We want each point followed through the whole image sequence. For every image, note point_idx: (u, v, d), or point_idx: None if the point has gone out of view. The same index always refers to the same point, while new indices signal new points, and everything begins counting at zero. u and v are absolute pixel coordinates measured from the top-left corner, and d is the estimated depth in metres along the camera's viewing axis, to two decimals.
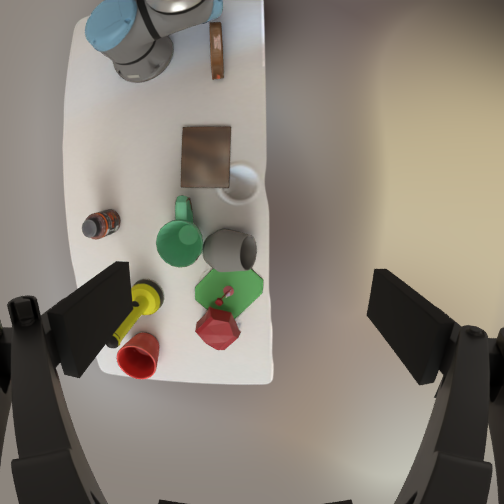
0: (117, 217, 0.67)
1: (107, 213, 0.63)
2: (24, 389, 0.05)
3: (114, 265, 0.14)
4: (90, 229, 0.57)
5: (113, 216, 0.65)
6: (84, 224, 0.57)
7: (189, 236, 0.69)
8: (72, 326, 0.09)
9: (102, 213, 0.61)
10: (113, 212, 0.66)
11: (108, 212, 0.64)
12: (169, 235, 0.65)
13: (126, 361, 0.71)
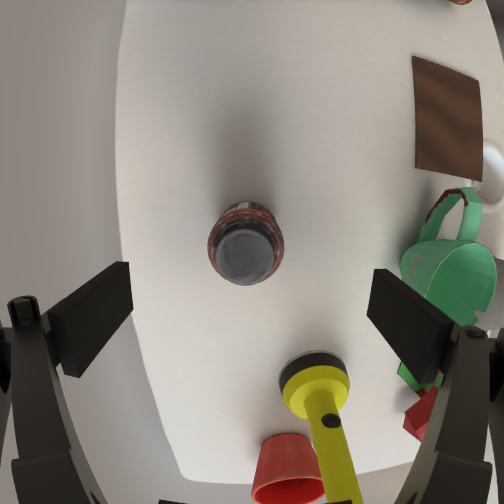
0: None
1: (265, 211, 0.26)
2: (24, 389, 0.05)
3: (114, 265, 0.14)
4: (250, 261, 0.20)
5: None
6: (227, 244, 0.20)
7: None
8: (72, 326, 0.09)
9: (261, 210, 0.24)
10: (266, 209, 0.29)
11: (263, 208, 0.27)
12: None
13: None
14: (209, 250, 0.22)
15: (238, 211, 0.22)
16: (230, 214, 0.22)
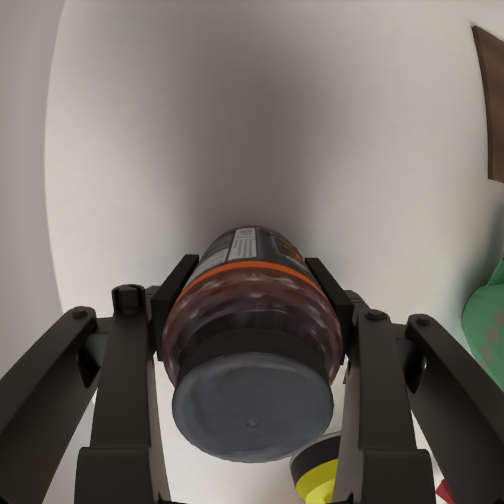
0: None
1: (292, 253, 0.12)
2: (114, 378, 0.06)
3: (187, 257, 0.16)
4: (270, 426, 0.06)
5: (307, 266, 0.14)
6: (202, 392, 0.06)
7: None
8: None
9: (287, 260, 0.10)
10: (288, 242, 0.15)
11: (285, 246, 0.13)
12: None
13: None
14: (165, 364, 0.09)
15: (233, 274, 0.08)
16: (212, 282, 0.08)
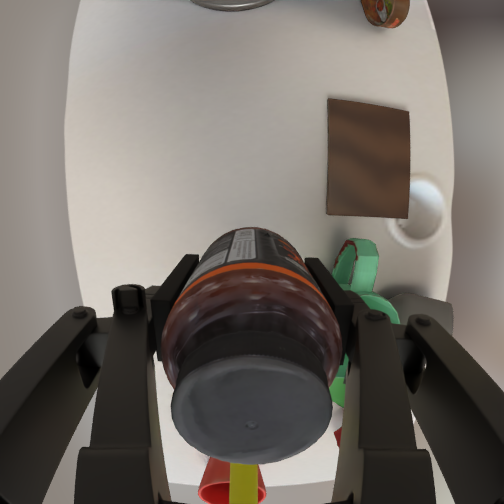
0: None
1: (292, 254, 0.12)
2: (114, 377, 0.06)
3: (187, 257, 0.16)
4: (269, 428, 0.06)
5: (306, 267, 0.14)
6: (201, 394, 0.06)
7: None
8: None
9: (286, 262, 0.10)
10: (287, 243, 0.15)
11: (284, 247, 0.13)
12: None
13: (209, 487, 0.38)
14: (165, 365, 0.09)
15: (232, 275, 0.08)
16: (211, 284, 0.08)
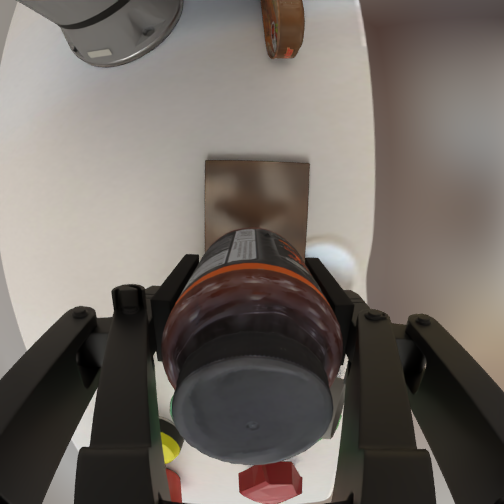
0: None
1: (292, 254, 0.12)
2: (114, 378, 0.06)
3: (187, 257, 0.16)
4: (269, 429, 0.06)
5: None
6: (202, 394, 0.06)
7: None
8: None
9: (287, 262, 0.10)
10: (288, 243, 0.15)
11: (285, 247, 0.13)
12: None
13: None
14: (165, 366, 0.09)
15: (233, 276, 0.08)
16: (211, 284, 0.08)
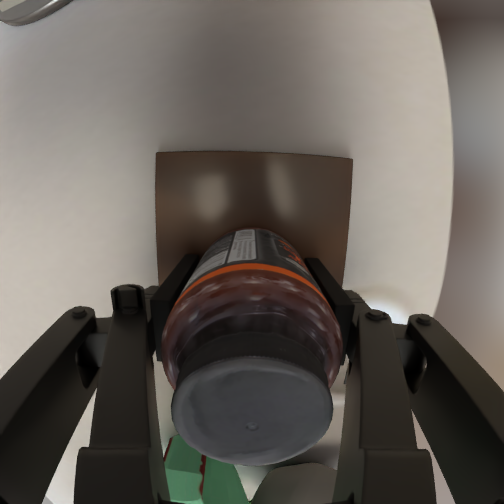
0: None
1: (292, 255, 0.12)
2: (113, 377, 0.06)
3: (186, 257, 0.16)
4: (269, 430, 0.06)
5: (307, 268, 0.14)
6: (201, 395, 0.06)
7: None
8: None
9: (287, 262, 0.10)
10: (288, 243, 0.15)
11: (285, 247, 0.13)
12: None
13: None
14: (165, 366, 0.09)
15: (232, 276, 0.08)
16: (211, 285, 0.08)
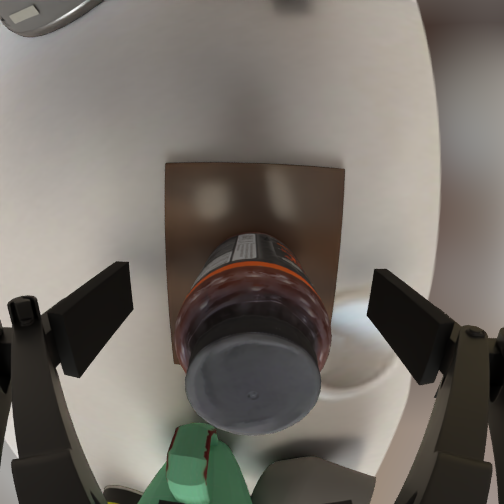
0: None
1: (288, 255, 0.14)
2: (24, 389, 0.05)
3: (114, 265, 0.14)
4: (267, 398, 0.08)
5: None
6: (211, 366, 0.08)
7: None
8: (72, 326, 0.09)
9: (283, 261, 0.12)
10: (285, 246, 0.17)
11: (282, 249, 0.15)
12: None
13: None
14: (177, 350, 0.10)
15: (236, 271, 0.10)
16: (219, 278, 0.10)
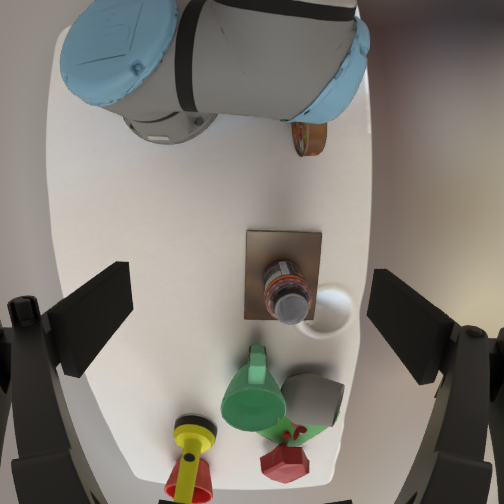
0: None
1: (298, 271, 0.40)
2: (24, 389, 0.05)
3: (114, 265, 0.14)
4: (295, 311, 0.34)
5: None
6: (282, 302, 0.34)
7: None
8: (72, 326, 0.09)
9: (297, 274, 0.38)
10: (296, 266, 0.42)
11: (296, 269, 0.40)
12: None
13: (173, 486, 0.51)
14: (267, 302, 0.36)
15: (285, 278, 0.36)
16: (280, 280, 0.36)
